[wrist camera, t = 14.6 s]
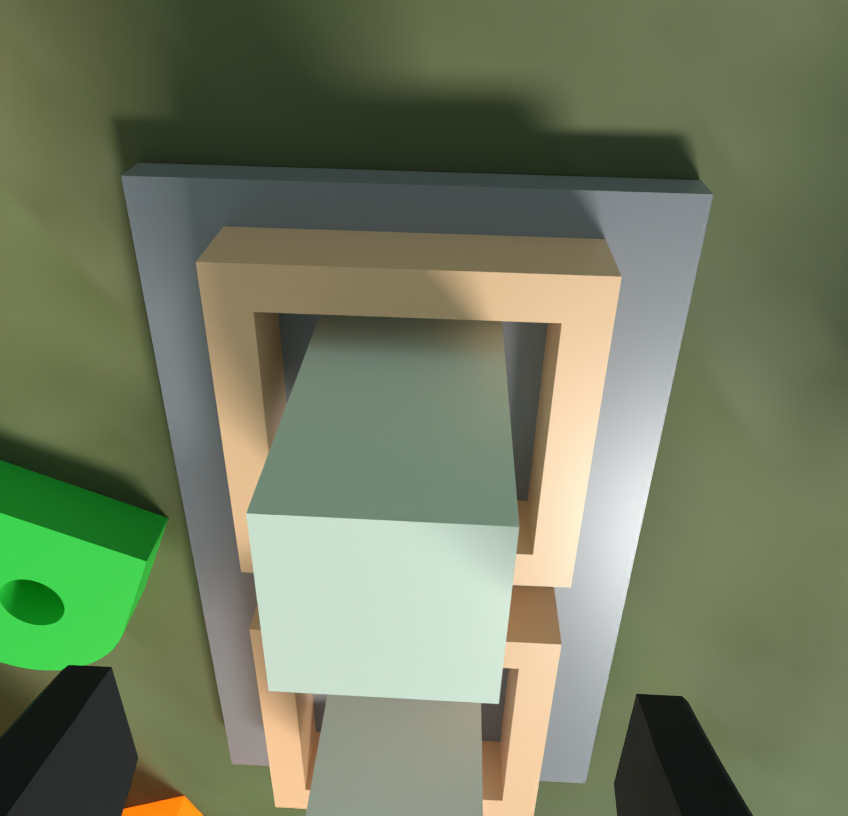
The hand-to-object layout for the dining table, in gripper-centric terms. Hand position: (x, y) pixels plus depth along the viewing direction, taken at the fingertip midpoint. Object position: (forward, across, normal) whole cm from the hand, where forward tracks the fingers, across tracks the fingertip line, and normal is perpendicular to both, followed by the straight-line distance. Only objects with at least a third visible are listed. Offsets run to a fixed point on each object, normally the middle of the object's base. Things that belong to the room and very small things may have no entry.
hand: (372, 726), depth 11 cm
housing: (+10, 0, +5) cm, 11 cm away
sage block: (+9, 0, 0) cm, 9 cm away
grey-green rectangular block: (+9, 0, +10) cm, 13 cm away
